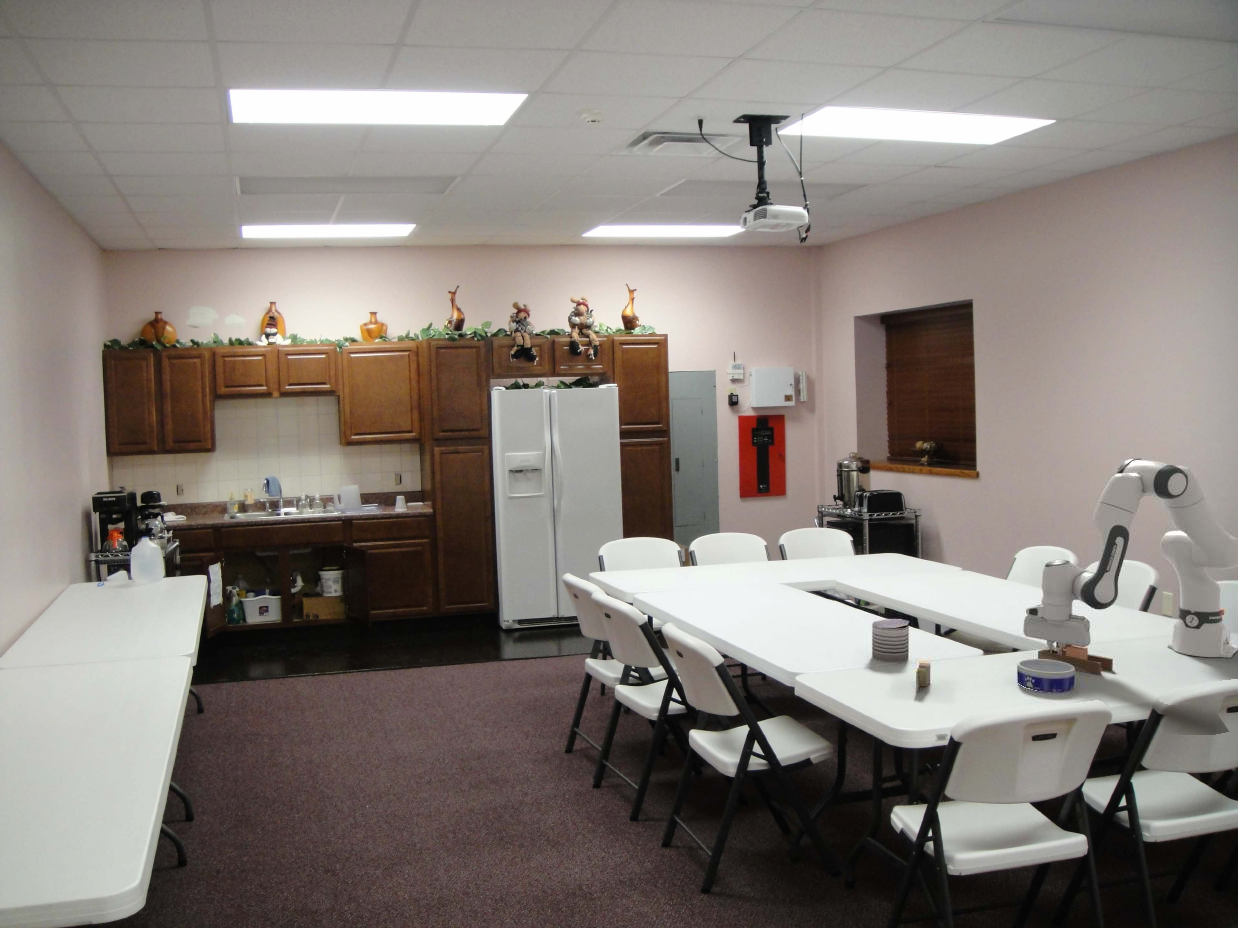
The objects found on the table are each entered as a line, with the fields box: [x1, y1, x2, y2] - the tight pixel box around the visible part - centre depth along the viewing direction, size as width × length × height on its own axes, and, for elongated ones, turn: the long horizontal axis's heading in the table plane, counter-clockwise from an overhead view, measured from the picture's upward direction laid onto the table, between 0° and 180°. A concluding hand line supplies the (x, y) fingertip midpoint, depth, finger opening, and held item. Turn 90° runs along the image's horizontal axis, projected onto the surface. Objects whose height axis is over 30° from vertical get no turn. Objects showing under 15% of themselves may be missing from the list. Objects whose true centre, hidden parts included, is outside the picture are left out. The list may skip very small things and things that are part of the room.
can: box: [871, 618, 910, 664], centre depth 316 cm, size 11×11×12 cm
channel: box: [1037, 646, 1114, 676], centre depth 305 cm, size 8×19×4 cm, turn 38°
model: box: [915, 659, 931, 694], centre depth 283 cm, size 3×11×8 cm, turn 159°
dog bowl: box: [1016, 658, 1076, 694], centre depth 285 cm, size 15×15×6 cm
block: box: [1066, 645, 1089, 660], centre depth 304 cm, size 4×4×6 cm
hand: (1056, 655), depth 310 cm, fingers closed
